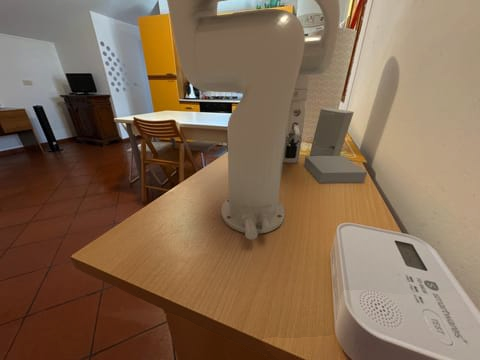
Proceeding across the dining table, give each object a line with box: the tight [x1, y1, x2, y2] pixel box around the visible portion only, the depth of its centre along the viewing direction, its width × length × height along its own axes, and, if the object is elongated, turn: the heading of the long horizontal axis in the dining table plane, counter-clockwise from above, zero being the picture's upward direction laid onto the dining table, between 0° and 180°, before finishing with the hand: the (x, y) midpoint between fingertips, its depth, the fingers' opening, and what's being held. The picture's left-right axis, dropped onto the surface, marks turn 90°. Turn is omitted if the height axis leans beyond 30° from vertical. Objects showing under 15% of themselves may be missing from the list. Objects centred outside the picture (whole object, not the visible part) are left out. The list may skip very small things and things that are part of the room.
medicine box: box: [283, 136, 303, 164], centre depth 63 cm, size 8×4×9 cm, turn 84°
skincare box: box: [309, 107, 355, 156], centre depth 65 cm, size 8×7×16 cm
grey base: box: [303, 155, 368, 184], centre depth 56 cm, size 12×12×3 cm
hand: (286, 152), depth 63 cm, fingers open, 8 cm apart
